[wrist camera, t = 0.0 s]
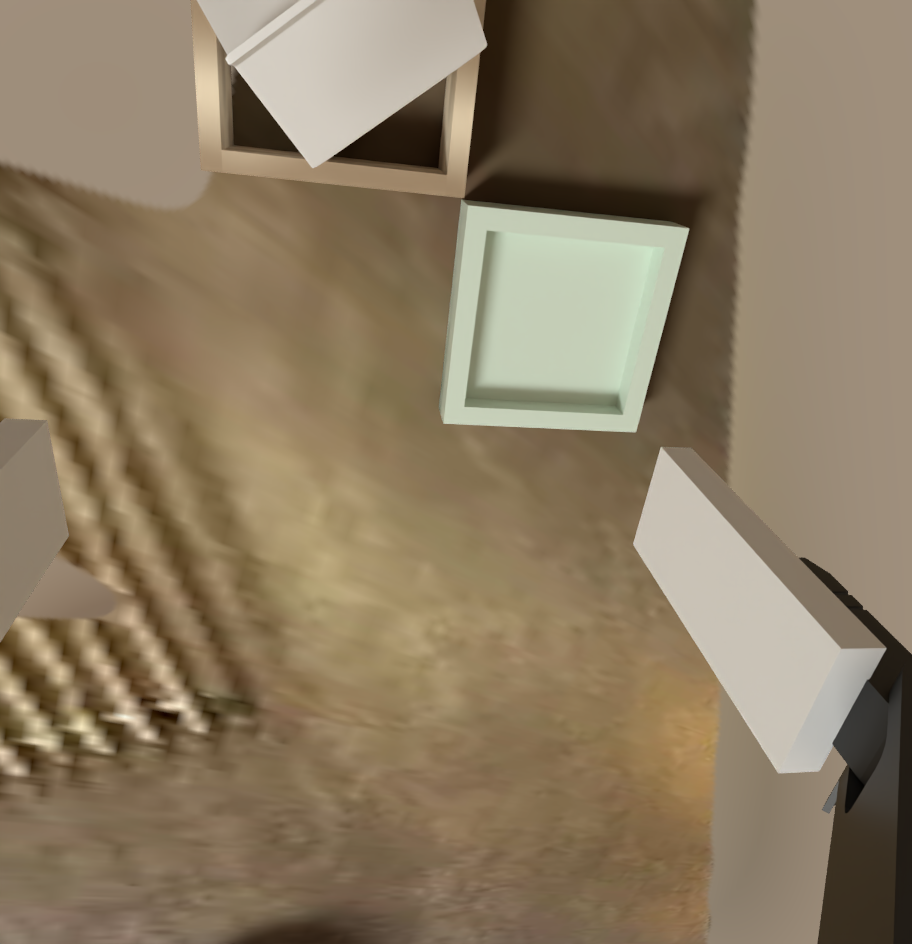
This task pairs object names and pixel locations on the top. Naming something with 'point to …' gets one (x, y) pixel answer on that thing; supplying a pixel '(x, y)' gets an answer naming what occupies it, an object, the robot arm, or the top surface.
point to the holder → (336, 170)
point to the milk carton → (342, 59)
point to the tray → (555, 316)
